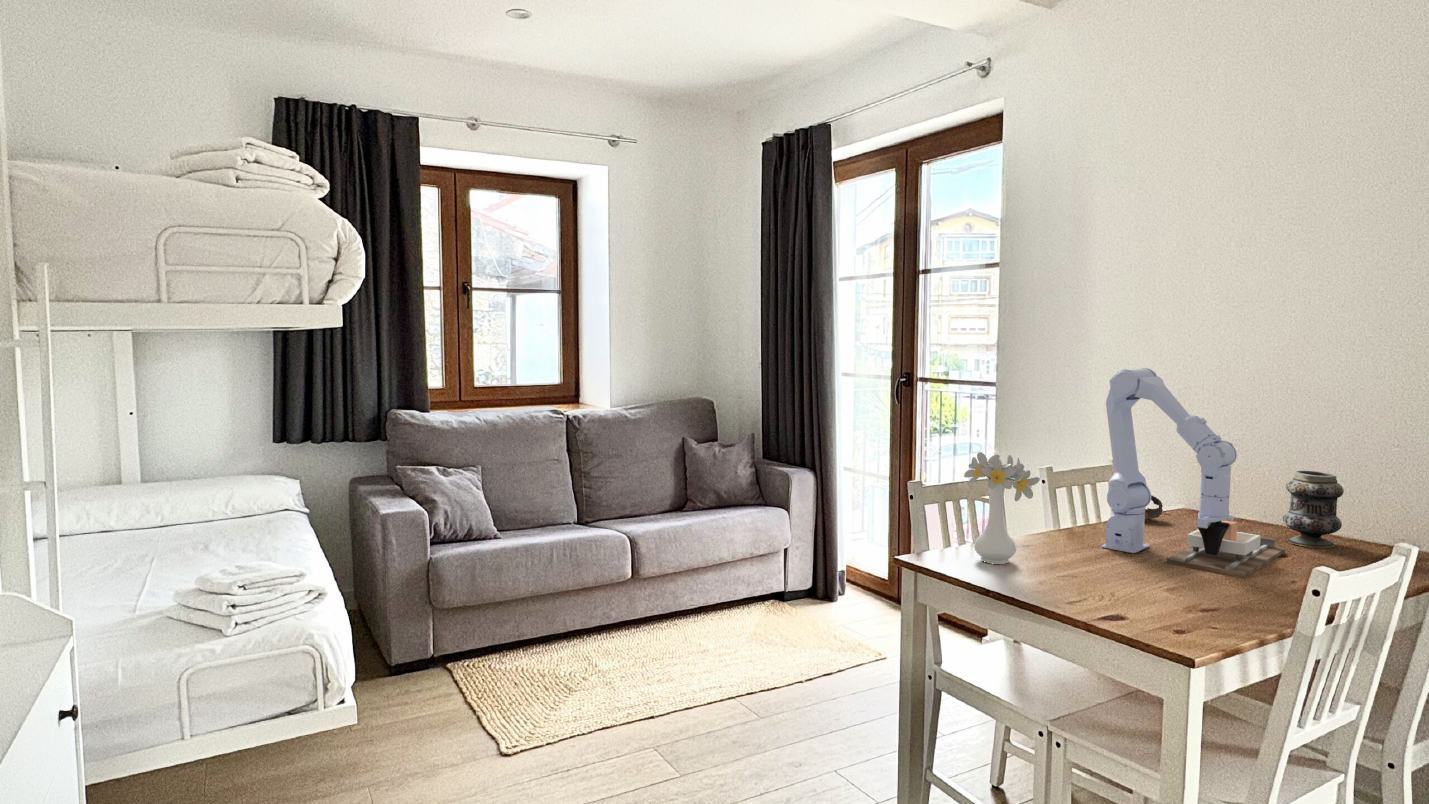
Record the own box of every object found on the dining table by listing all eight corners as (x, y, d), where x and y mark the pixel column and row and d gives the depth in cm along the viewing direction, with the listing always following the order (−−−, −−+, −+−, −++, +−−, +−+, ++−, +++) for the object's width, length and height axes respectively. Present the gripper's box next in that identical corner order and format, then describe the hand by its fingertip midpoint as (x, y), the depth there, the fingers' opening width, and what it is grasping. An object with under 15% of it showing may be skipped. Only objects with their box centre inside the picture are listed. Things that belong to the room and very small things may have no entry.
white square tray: (1244, 562, 190) (1245, 544, 189) (1186, 551, 198) (1187, 534, 198) (1259, 553, 197) (1260, 535, 197) (1202, 543, 206) (1203, 526, 205)
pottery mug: (1156, 517, 243) (1166, 496, 238) (1154, 538, 236) (1164, 517, 231) (1112, 504, 247) (1121, 482, 242) (1109, 524, 240) (1118, 502, 235)
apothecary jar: (1351, 547, 208) (1356, 474, 207) (1319, 552, 204) (1323, 478, 202) (1302, 535, 220) (1306, 467, 218) (1270, 540, 215) (1274, 470, 214)
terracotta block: (1230, 546, 195) (1231, 524, 194) (1211, 543, 198) (1212, 521, 197) (1236, 543, 197) (1237, 522, 197) (1217, 540, 200) (1218, 519, 200)
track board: (1244, 578, 184) (1245, 564, 184) (1166, 563, 196) (1166, 550, 195) (1284, 552, 204) (1285, 540, 204) (1211, 540, 216) (1211, 528, 215)
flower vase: (1014, 576, 186) (1017, 463, 184) (948, 557, 201) (950, 453, 199) (1050, 566, 194) (1053, 458, 191) (983, 548, 209) (986, 448, 206)
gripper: (1223, 502, 183) (1220, 563, 185) (1245, 493, 193) (1242, 551, 194) (1188, 497, 189) (1185, 557, 190) (1211, 488, 198) (1208, 545, 200)
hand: (1211, 554), depth 192 cm, fingers closed
